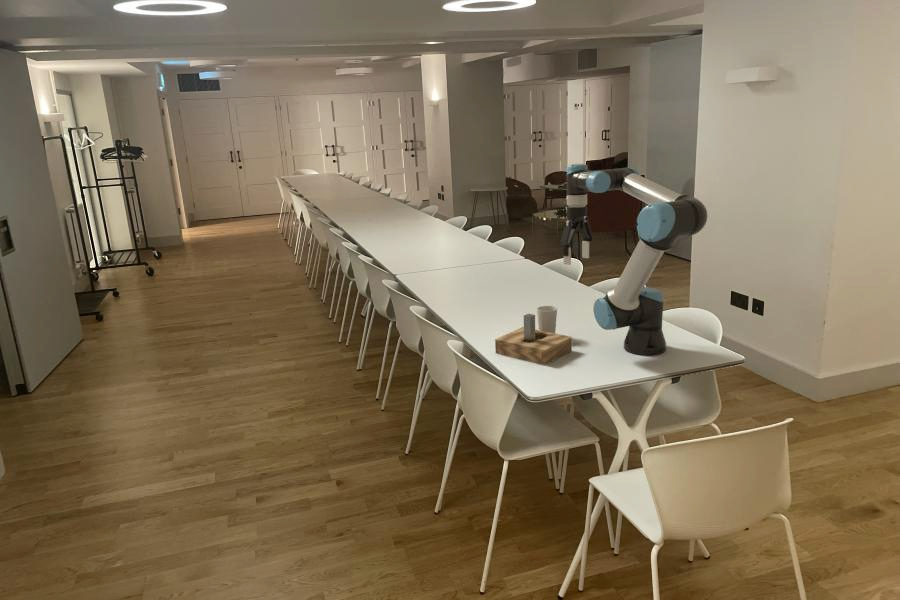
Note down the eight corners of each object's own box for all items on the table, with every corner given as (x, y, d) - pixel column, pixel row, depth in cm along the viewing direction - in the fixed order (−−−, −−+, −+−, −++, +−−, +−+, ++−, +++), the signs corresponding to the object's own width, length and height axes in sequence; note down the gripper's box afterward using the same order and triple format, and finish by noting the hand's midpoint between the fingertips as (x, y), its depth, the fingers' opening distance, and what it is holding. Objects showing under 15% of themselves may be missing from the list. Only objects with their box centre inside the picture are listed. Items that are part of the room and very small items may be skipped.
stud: (539, 353, 246) (538, 314, 242) (531, 357, 243) (531, 318, 239) (528, 350, 250) (527, 312, 246) (520, 354, 246) (519, 315, 242)
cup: (542, 341, 259) (541, 312, 255) (533, 335, 266) (533, 307, 263) (560, 339, 261) (560, 309, 257) (552, 333, 268) (552, 304, 265)
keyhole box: (571, 350, 247) (571, 336, 246) (545, 365, 234) (544, 350, 233) (523, 340, 261) (523, 326, 260) (495, 353, 248) (495, 339, 247)
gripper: (584, 201, 260) (584, 254, 266) (550, 209, 242) (550, 266, 248) (602, 202, 255) (601, 256, 261) (568, 210, 237) (567, 268, 243)
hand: (576, 261), depth 254 cm, fingers open, 13 cm apart
